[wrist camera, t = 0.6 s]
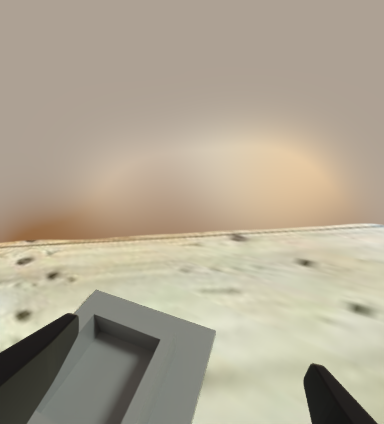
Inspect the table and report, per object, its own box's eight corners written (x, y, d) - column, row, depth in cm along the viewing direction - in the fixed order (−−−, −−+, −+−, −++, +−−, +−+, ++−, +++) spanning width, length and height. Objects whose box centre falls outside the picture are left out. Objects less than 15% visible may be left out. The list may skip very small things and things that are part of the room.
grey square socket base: (136, 631, 11) (124, 643, 9) (-56, 468, 16) (-91, 453, 14) (215, 334, 24) (217, 313, 22) (97, 293, 29) (90, 273, 27)
